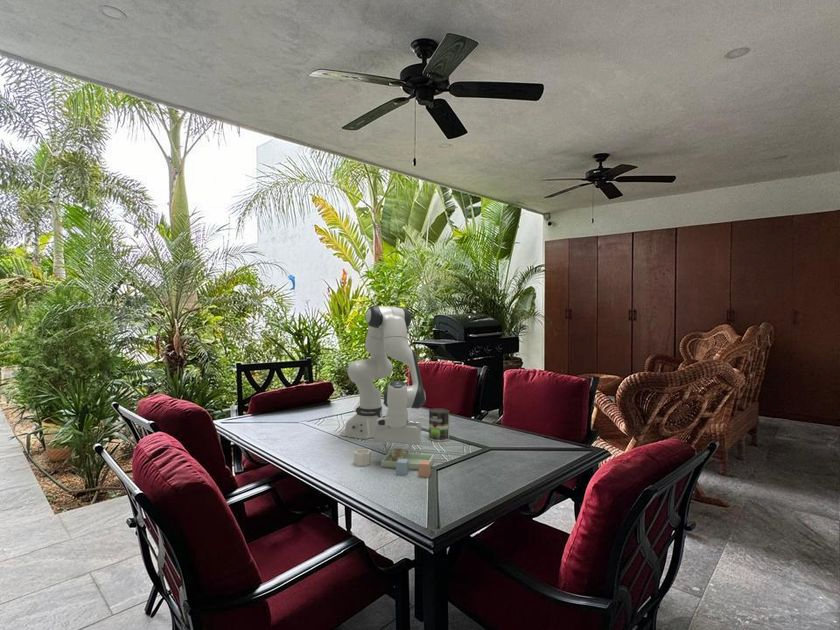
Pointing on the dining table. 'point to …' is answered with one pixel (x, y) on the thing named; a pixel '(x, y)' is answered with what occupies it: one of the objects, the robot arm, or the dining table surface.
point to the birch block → (397, 454)
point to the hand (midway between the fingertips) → (397, 452)
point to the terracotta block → (424, 468)
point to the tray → (413, 460)
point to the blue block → (402, 466)
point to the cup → (362, 457)
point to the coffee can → (439, 424)
